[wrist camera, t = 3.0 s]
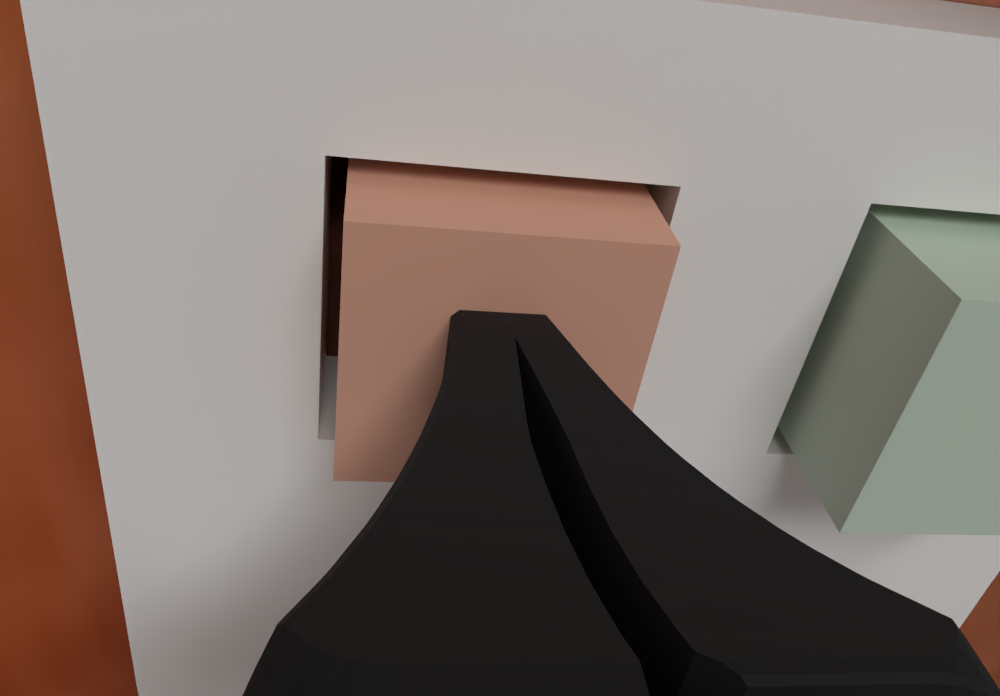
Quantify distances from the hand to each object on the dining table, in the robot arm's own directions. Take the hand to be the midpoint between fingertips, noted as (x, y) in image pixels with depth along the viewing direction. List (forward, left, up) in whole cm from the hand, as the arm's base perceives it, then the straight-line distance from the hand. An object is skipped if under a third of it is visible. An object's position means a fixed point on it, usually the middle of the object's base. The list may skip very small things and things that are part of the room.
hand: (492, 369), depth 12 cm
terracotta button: (0, 0, -3) cm, 3 cm away
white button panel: (-3, +4, -4) cm, 6 cm away
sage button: (-8, 0, -2) cm, 8 cm away
